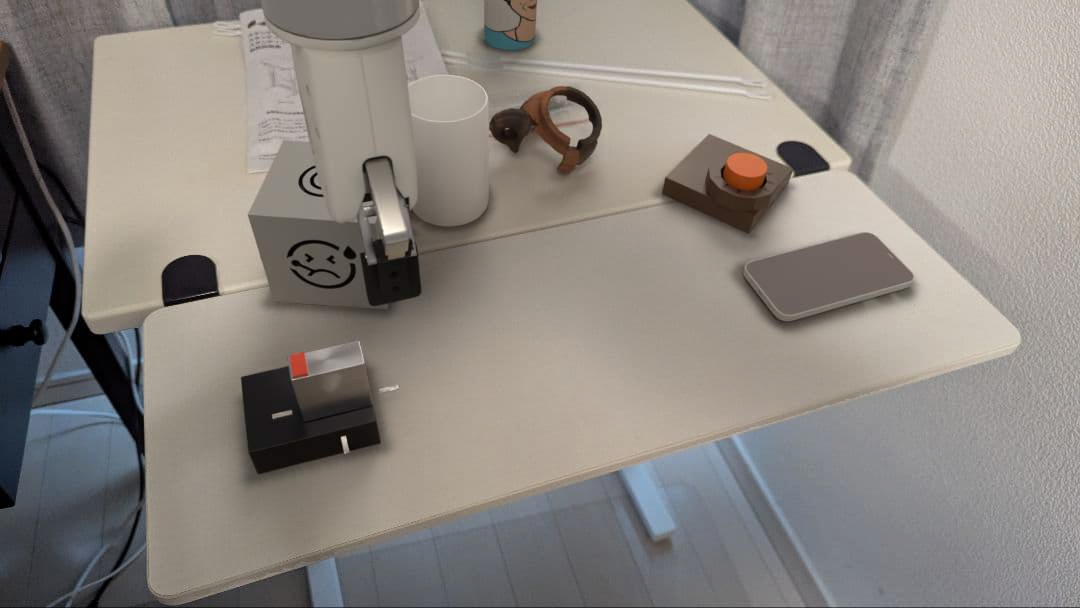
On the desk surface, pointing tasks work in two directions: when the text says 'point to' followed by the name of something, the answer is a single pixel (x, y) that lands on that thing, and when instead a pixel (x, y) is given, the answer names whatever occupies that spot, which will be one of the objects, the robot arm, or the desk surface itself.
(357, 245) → the icon cube
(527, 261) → the desk surface
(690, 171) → the control block
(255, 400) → the switch panel
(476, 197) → the mug
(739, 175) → the power button
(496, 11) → the cup
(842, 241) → the smartphone
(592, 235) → the desk surface
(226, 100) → the desk surface
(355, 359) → the red-banded grey bar
